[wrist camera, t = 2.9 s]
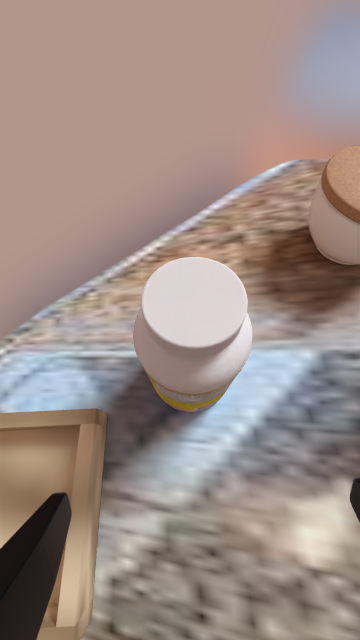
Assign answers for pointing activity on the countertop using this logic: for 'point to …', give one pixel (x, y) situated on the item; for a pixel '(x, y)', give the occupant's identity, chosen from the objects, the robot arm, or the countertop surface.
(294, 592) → the countertop surface
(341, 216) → the lidded jar
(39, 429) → the tray
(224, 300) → the supplement bottle
